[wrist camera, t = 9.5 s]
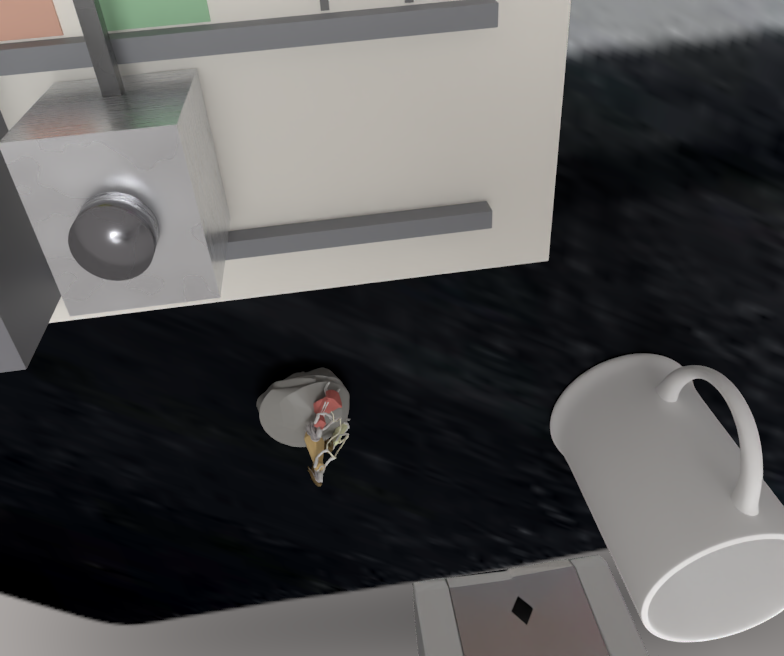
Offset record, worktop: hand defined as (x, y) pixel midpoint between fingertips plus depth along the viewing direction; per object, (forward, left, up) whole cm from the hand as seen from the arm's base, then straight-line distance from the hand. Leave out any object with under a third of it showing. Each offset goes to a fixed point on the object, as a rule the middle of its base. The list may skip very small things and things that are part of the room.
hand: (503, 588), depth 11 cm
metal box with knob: (+8, -2, -20) cm, 22 cm away
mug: (-14, +17, -22) cm, 31 cm away
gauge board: (+4, 0, -21) cm, 22 cm away
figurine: (+4, +14, -22) cm, 26 cm away
